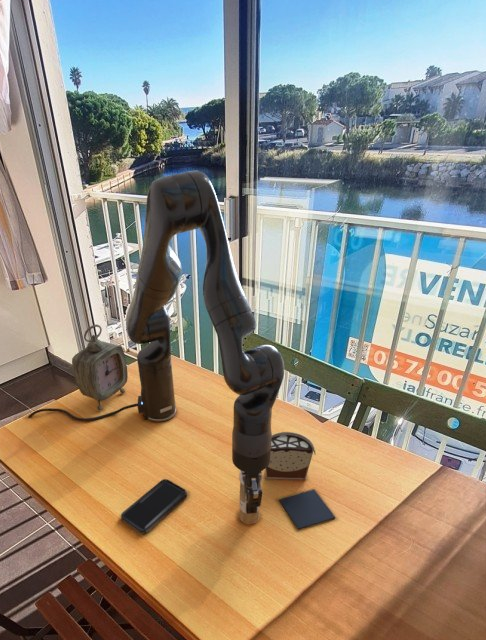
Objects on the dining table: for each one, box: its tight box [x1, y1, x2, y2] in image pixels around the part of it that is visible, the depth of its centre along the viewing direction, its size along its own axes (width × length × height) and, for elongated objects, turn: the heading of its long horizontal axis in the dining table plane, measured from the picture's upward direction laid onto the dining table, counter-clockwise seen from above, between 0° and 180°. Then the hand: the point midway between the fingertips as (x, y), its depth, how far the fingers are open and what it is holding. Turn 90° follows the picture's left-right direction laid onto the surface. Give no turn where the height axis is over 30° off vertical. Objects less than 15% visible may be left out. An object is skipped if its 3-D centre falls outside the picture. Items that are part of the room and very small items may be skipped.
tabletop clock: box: [71, 324, 128, 412], centre depth 134 cm, size 14×9×25 cm, turn 147°
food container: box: [264, 431, 316, 480], centre depth 108 cm, size 12×6×10 cm, turn 84°
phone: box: [120, 478, 188, 535], centre depth 103 cm, size 8×1×15 cm
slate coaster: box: [278, 488, 336, 530], centre depth 101 cm, size 9×9×1 cm
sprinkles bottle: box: [238, 470, 260, 525], centre depth 96 cm, size 5×5×13 cm
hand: (249, 503), depth 97 cm, fingers closed on sprinkles bottle, 4 cm apart
